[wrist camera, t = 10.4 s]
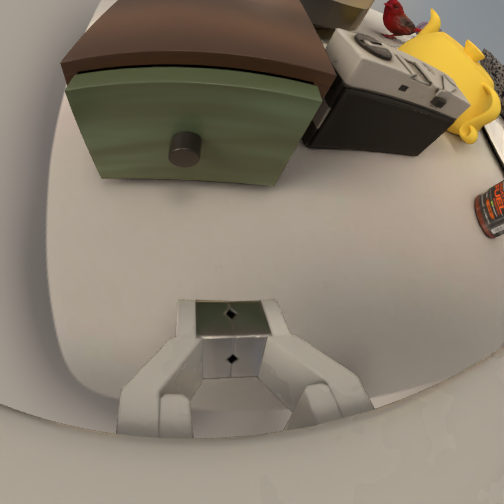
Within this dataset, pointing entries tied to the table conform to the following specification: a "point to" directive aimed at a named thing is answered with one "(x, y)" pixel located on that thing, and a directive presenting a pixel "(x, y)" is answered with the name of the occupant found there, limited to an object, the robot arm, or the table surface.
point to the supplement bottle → (491, 210)
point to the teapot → (458, 75)
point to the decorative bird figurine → (397, 20)
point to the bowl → (495, 75)
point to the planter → (336, 13)
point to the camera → (382, 99)
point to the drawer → (191, 121)
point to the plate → (496, 139)
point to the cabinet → (205, 38)
